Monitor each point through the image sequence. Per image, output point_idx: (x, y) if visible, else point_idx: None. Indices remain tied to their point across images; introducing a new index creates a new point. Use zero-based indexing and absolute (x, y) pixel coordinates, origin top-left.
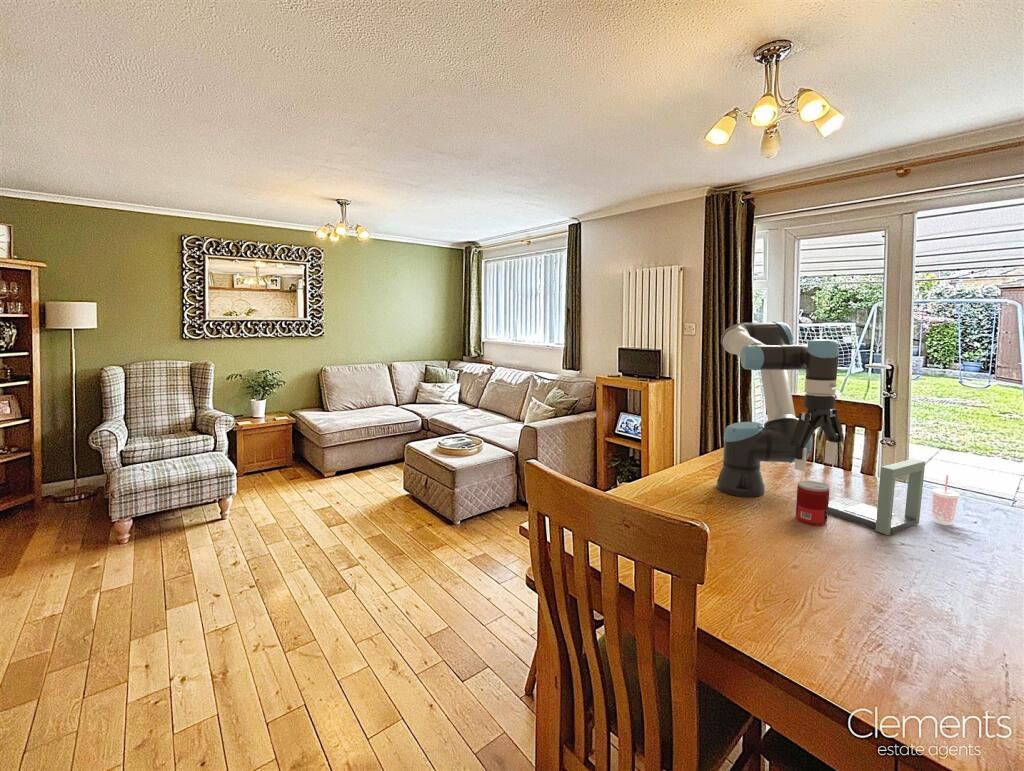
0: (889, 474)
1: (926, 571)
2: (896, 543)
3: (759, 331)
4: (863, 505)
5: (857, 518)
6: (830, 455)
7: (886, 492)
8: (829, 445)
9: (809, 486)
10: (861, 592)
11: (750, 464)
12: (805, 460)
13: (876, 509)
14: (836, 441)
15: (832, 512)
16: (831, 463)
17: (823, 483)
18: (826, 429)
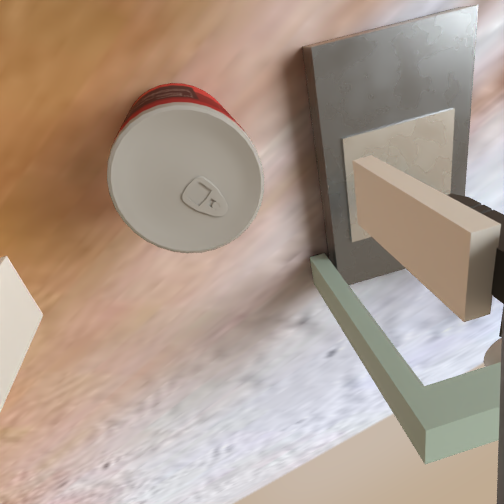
0: (409, 430)
1: (223, 418)
2: (292, 317)
3: None
4: (442, 123)
5: (325, 197)
6: (388, 224)
7: (368, 362)
8: (440, 253)
9: (161, 184)
10: (15, 473)
11: None
12: (11, 374)
13: (441, 168)
14: (502, 317)
15: (312, 106)
16: (359, 210)
17: (261, 179)
18: (502, 464)
